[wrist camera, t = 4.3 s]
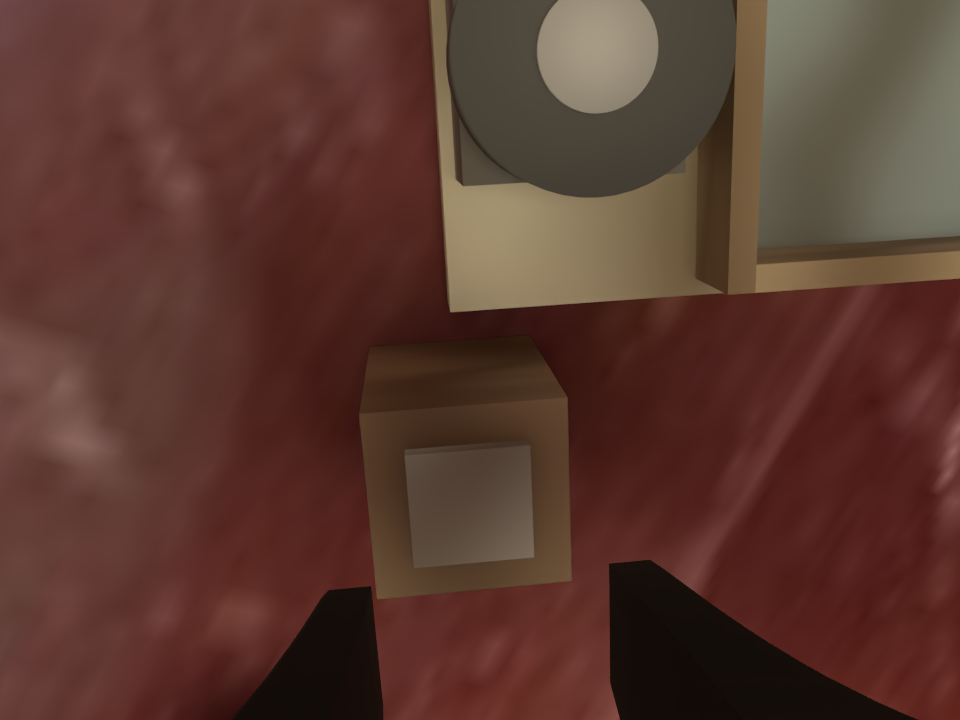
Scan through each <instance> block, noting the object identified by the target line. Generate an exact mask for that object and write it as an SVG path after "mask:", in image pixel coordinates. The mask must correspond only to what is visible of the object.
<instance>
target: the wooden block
mask: <svg viewBox="0 0 960 720" xmlns="http://www.w3.org/2000/svg"><path fill="white" fill-rule="evenodd" d="M359 419H360V429H361V439H362V450H363V460H364V470H365V480H366V490H367V501H368V511H369V521H370V531H371V541H372V552H373V562H374V572H375V582H376V592H377V599H386V598H397V597H408V596H418V595H429V594H439V593H450V592H461V591H471V590H482V589H492V588H503V587H514V586H524V585H535V584H545V583H556V582H567V581H572V572H571V527H570V482H569V437H568V397H567V396H566V394H565V392H564V391H563V389H562V388H561V386H560V384H559V383H558V381H557V379H556V378H555V376H554V374H553V373H552V371H551V369H550V368H549V366H548V364H547V363H546V361H545V360H544V358H543V356H542V355H541V353H540V351H539V350H538V348H537V346H536V345H535V343H534V341H533V340H532V338H531V336H530V335H522V336H508V337H494V338H480V339H466V340H453V341H439V342H425V343H411V344H397V345H384V346H370V347H369V354H368V360H367V366H366V373H365V379H364V385H363V392H362V398H361V404H360V411H359Z"/></svg>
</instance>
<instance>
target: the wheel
mask: <svg viewBox="0 0 960 720" xmlns="http://www.w3.org/2000/svg"><path fill="white" fill-rule="evenodd" d="M735 54H736V21H735V15H734V8H733V3H732V0H457V2H456V5H455V7H454V10H453V13H452V17H451V21H450V25H449V30H448V37H447V45H446V67H447V75H448V83H449V87H450V91H451V95H452V99H453V102H454V105H455V107H456V110H457V112H458V115H459V117H460V119H461V121H462V123H463V125H464V127H465V129H466V130H467V132H468V134H469V135H470V136H471V138H472V139H473V141H474V142H475V143H476V145H477V146H478V147H479V148H480V149H481V150H482V151H483V153H484V154H485V155H486V156H487V157H488V158H489V159H490V160H492V161H493V162H494V163H495V164H496V165H498V166H499V167H500V168H501V169H503V170H504V171H506V172H508V173H509V174H511V175H513V176H514V177H516V178H518V179H520V180H523V181H525V182H527V183H529V184H532V185H534V186H536V187H539V188H541V189H544V190H546V191H550V192H553V193H557V194H560V195H566V196H573V197H580V198H598V197H606V196H614V195H618V194H622V193H626V192H630V191H633V190H635V189H638V188H640V187H643V186H645V185H648V184H650V183H652V182H653V181H655V180H657V179H659V178H660V177H662V176H664V175H665V174H667V173H668V172H669V171H671V170H672V169H673V168H675V167H676V166H677V165H679V164H680V163H681V162H682V161H683V160H684V159H685V158H686V157H687V156H688V155H689V154H690V153H691V152H692V151H694V149H695V148H696V147H697V146H698V144H699V143H700V142H701V141H702V139H703V138H704V137H705V136H706V134H707V133H708V131H709V129H710V128H711V126H712V125H713V123H714V121H715V120H716V118H717V116H718V114H719V112H720V109H721V107H722V105H723V103H724V101H725V98H726V95H727V92H728V89H729V86H730V83H731V78H732V74H733V69H734V64H735Z"/></svg>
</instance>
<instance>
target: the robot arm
mask: <svg viewBox="0 0 960 720" xmlns="http://www.w3.org/2000/svg"><path fill="white" fill-rule="evenodd" d="M609 585H610V683H611V687H612V691H613V694H614V698H615V702H616V705H617V709H618V713H619V717H620V720H917V719H915V718H913V717H910V716H908V715H905V714H903V713H900V712H898V711H896V710H894V709H892V708H889V707H887V706H885V705H883V704H881V703H878V702H876V701H874V700H872V699H870V698H868V697H866V696H864V695H862V694H860V693H858V692H856V691H854V690H852V689H850V688H848V687H846V686H844V685H842V684H840V683H838V682H836V681H834V680H832V679H830V678H828V677H826V676H825V675H823V674H821V673H819V672H817V671H815V670H814V669H812V668H810V667H808V666H806V665H805V664H803V663H801V662H800V661H798V660H796V659H795V658H793V657H791V656H790V655H788V654H786V653H785V652H783V651H782V650H780V649H778V648H777V647H775V646H773V645H772V644H770V643H768V642H767V641H765V640H764V639H762V638H761V637H759V636H757V635H756V634H754V633H753V632H751V631H750V630H748V629H747V628H745V627H744V626H742V625H741V624H739V623H738V622H736V621H735V620H733V619H732V618H731V617H729V616H728V615H726V614H725V613H723V612H722V611H720V610H719V609H718V608H716V607H715V606H713V605H712V604H711V603H709V602H708V601H706V600H705V599H704V598H702V597H701V596H700V595H698V594H697V593H696V592H694V591H693V590H691V589H690V588H689V587H687V586H686V585H685V584H683V583H682V582H681V581H679V580H678V579H676V578H675V577H674V576H672V575H671V574H670V573H668V572H667V571H666V570H664V569H663V568H661V567H660V566H658V565H657V564H655V563H654V562H652V561H651V560H644V561H634V562H623V563H613V564H609ZM231 720H383V701H382V691H381V681H380V671H379V661H378V651H377V641H376V632H375V622H374V612H373V602H372V592H371V586H369V587H359V588H348V589H338V590H328V591H327V593H326V594H325V595H324V596H323V597H322V598H321V600H320V601H319V603H318V604H317V606H316V608H315V609H314V611H313V612H312V614H311V615H310V617H309V618H308V620H307V621H306V623H305V624H304V626H303V627H302V629H301V630H300V632H299V633H298V635H297V636H296V638H295V639H294V641H293V642H292V643H291V645H290V646H289V648H288V649H287V650H286V652H285V653H284V654H283V656H282V657H281V658H280V660H279V661H278V662H277V664H276V665H275V667H274V668H273V669H272V671H271V672H270V673H269V675H268V676H267V677H266V679H265V680H264V681H263V682H262V684H261V685H260V686H259V687H258V689H257V690H256V691H255V692H254V693H253V694H252V696H251V697H250V698H249V699H248V700H247V702H246V703H245V704H244V705H243V706H242V707H241V709H240V710H239V711H238V712H237V713H236V715H235V716H234V717H233V718H232V719H231Z"/></svg>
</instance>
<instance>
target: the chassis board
mask: <svg viewBox="0 0 960 720" xmlns="http://www.w3.org/2000/svg"><path fill="white" fill-rule="evenodd" d="M456 2H457V0H428V3H429V19H430V34H431V50H432V65H433V81H434V97H435V112H436V128H437V143H438V159H439V174H440V190H441V206H442V221H443V237H444V252H445V268H446V283H447V299H448V305H449V309H450V312H462V311H476V310H490V309H504V308H519V307H533V306H547V305H561V304H575V303H589V302H604V301H618V300H632V299H646V298H660V297H674V296H688V295H703V294H717V293H725V294H727V295H732V294H746V293H760V292H775V291H789V290H803V289H817V288H831V287H845V286H859V285H873V284H887V283H902V282H916V281H930V280H944V279H958V278H960V0H732V3H733V8H734V15H735V21H736V54H735V64H734V69H733V74H732V78H731V83H730V86H729V89H728V92H727V95H726V98H725V101H724V103H723V105H722V107H721V109H720V112H719V114H718V116H717V118H716V120H715V121H714V123H713V125H712V126H711V128H710V129H709V131H708V133H707V134H706V136H705V137H704V138H703V139H702V141H701V142H700V143H699V144H698V146H697V147H696V148H695V149H694V151H692V152H691V153H690V154H689V155H688V156H687V157H686V158H685V159H684V160H683V161H682V162H681V163H680V164H679V165H677V166H676V167H675V168H673V169H672V170H671V171H669V172H668V173H667V174H665V175H664V176H662V177H660V178H659V179H657V180H655V181H653V182H652V183H650V184H648V185H645V186H643V187H640V188H638V189H635V190H633V191H630V192H626V193H622V194H618V195H614V196H606V197H598V198H580V197H573V196H566V195H560V194H557V193H553V192H550V191H546V190H544V189H541V188H539V187H536V186H534V185H532V184H529V183H527V182H525V181H523V180H520V179H518V178H516V177H514V176H513V175H511V174H509V173H508V172H506V171H504V170H503V169H501V168H500V167H499V166H498V165H496V164H495V163H494V162H493V161H492V160H490V159H489V158H488V157H487V156H486V155H485V154H484V153H483V151H482V150H481V149H480V148H479V147H478V146H477V145H476V143H475V142H474V141H473V139H472V138H471V136H470V135H469V134H468V132H467V130H466V129H465V127H464V125H463V123H462V121H461V119H460V117H459V115H458V112H457V110H456V107H455V105H454V102H453V99H452V95H451V91H450V87H449V83H448V75H447V67H446V45H447V37H448V30H449V25H450V21H451V17H452V13H453V10H454V7H455V5H456Z"/></svg>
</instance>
